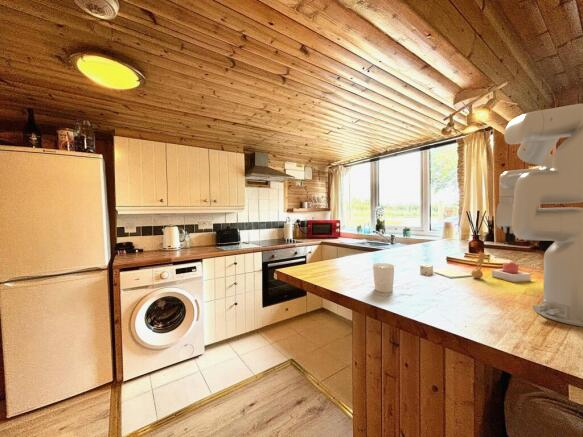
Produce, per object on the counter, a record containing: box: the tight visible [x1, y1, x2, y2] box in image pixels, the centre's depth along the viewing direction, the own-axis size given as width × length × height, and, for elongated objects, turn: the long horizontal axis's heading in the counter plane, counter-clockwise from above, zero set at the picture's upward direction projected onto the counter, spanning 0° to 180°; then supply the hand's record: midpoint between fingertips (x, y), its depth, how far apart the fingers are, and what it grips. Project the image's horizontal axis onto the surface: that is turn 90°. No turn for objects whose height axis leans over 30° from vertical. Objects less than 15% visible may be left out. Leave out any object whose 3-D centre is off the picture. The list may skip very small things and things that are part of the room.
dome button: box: [502, 261, 519, 274], centre depth 104 cm, size 5×5×5 cm
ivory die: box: [419, 264, 434, 276], centre depth 116 cm, size 4×4×4 cm
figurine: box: [471, 251, 490, 279], centre depth 106 cm, size 8×6×12 cm
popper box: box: [491, 268, 532, 283], centre depth 104 cm, size 9×9×3 cm
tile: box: [433, 268, 473, 279], centre depth 114 cm, size 12×12×1 cm
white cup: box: [372, 262, 395, 294], centre depth 94 cm, size 8×8×10 cm
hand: (510, 242), depth 104 cm, fingers closed
